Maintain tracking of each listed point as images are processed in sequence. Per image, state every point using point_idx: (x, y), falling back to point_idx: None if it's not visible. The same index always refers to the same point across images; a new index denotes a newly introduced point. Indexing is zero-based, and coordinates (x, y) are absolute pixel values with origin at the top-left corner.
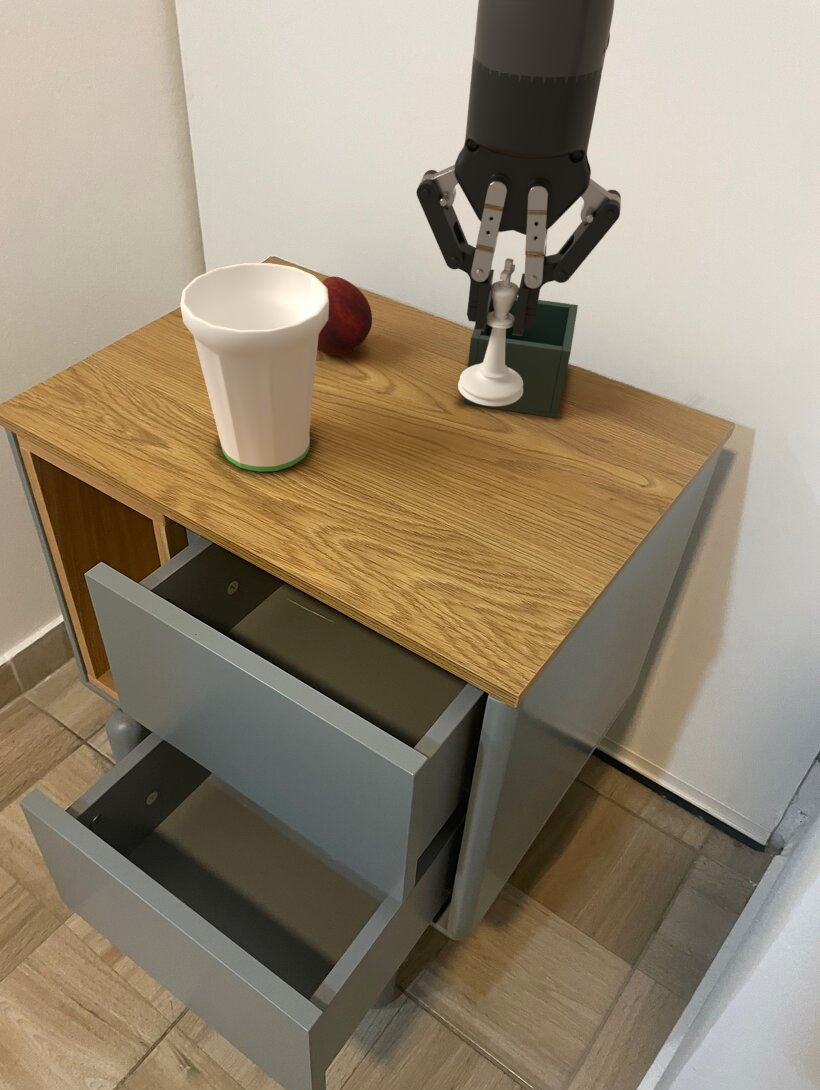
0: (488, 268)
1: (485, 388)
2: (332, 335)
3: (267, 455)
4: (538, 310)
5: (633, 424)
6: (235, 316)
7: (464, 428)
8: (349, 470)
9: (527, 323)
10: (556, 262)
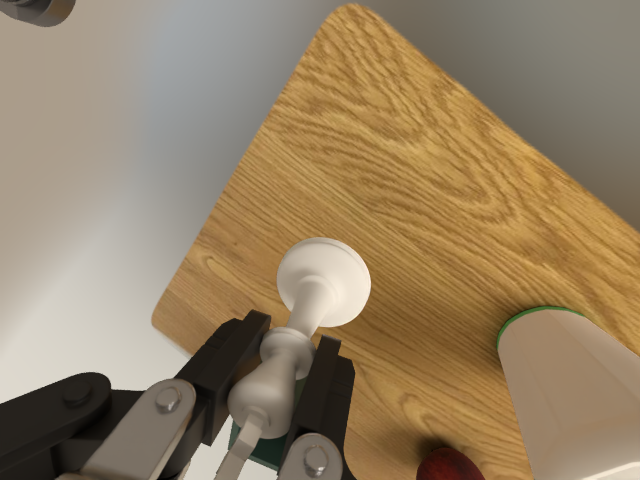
0: (285, 470)
1: (332, 261)
2: (460, 468)
3: (560, 317)
4: (262, 452)
5: (211, 327)
6: None
7: (344, 341)
8: (461, 300)
9: (235, 327)
10: (75, 439)
